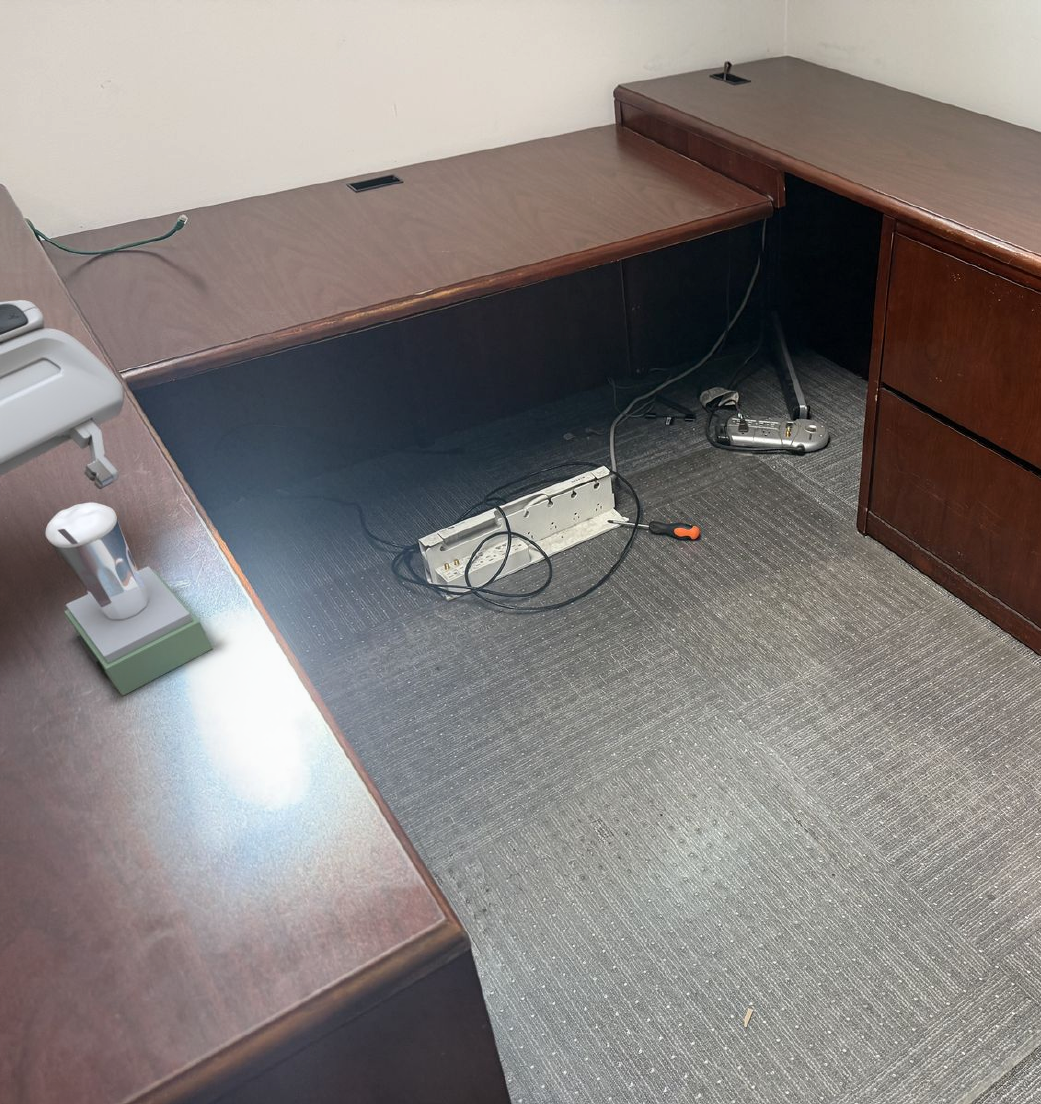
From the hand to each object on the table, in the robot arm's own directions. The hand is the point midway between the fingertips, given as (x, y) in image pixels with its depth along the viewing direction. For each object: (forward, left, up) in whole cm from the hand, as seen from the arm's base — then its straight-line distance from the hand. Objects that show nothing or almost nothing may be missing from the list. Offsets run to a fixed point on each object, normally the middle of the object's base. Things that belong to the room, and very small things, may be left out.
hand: (52, 514), depth 76 cm
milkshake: (+1, -5, -7) cm, 9 cm away
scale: (+1, -5, -11) cm, 12 cm away
